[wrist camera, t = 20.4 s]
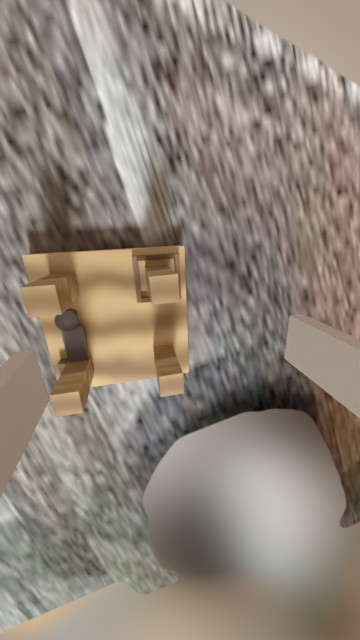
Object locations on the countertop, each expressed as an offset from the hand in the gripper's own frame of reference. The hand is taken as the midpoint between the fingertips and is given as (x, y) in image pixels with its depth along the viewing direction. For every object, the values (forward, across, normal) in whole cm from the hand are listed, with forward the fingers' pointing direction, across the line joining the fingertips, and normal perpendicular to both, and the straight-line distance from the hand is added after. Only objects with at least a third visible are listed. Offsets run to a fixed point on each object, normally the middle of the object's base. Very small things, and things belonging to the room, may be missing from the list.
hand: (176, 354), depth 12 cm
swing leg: (+20, -11, -8) cm, 24 cm away
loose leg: (+21, +1, 0) cm, 21 cm away
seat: (+23, -5, -6) cm, 25 cm away
